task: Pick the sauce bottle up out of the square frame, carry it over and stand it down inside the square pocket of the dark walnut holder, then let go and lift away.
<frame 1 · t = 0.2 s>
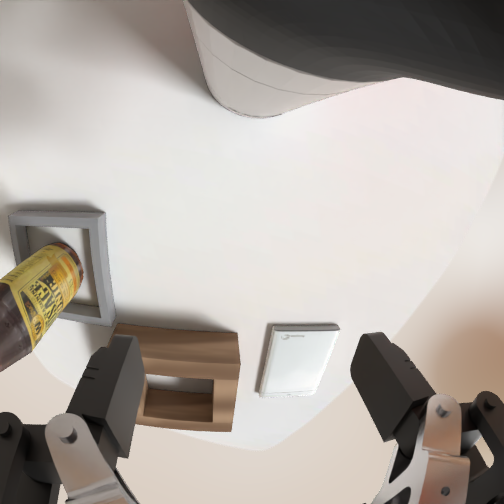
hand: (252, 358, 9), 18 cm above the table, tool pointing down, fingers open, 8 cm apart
hard drive: (294, 358, 34), on the table
square frame: (63, 264, 25), on the table
holder: (178, 370, 32), on the table
sauce bottle: (64, 263, 26), resting in square frame
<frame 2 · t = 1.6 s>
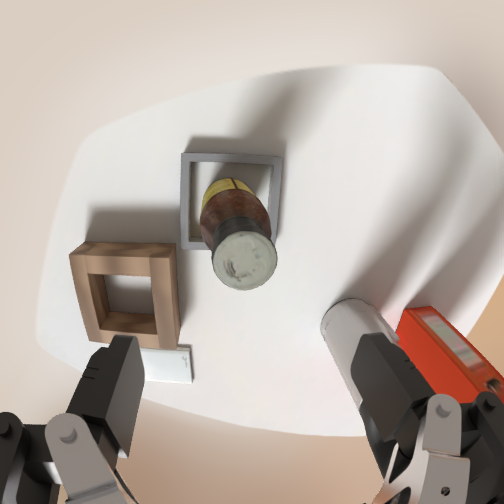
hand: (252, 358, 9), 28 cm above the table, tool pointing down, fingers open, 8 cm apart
hard drive: (157, 360, 45), on the table
square frame: (229, 200, 35), on the table
holder: (131, 287, 38), on the table
sauce bottle: (229, 200, 35), resting in square frame
file binder: (404, 342, 49), on the table
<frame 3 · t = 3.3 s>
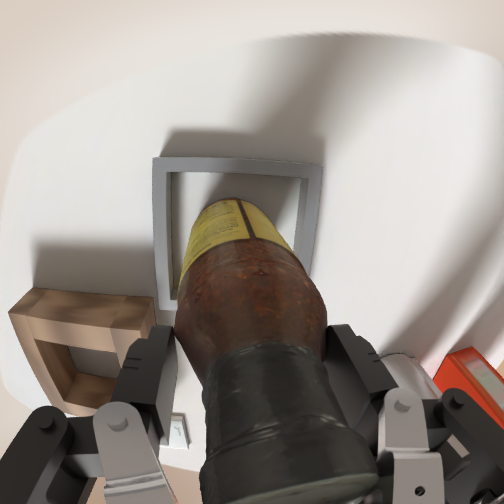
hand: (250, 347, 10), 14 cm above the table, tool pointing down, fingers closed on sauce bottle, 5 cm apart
hard drive: (143, 423, 31), on the table
square frame: (233, 234, 22), on the table
holder: (99, 349, 25), on the table
sauce bottle: (233, 233, 22), resting in square frame, touching gripper
file binder: (438, 387, 36), on the table
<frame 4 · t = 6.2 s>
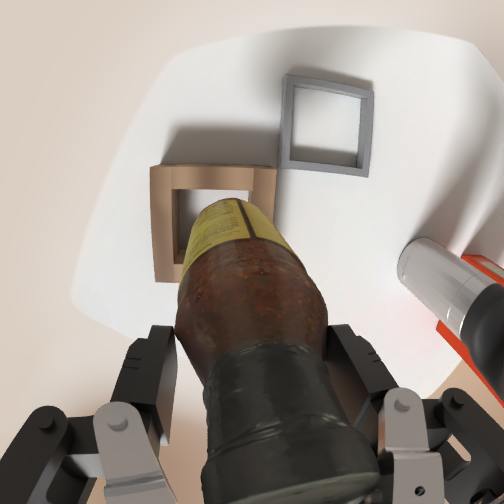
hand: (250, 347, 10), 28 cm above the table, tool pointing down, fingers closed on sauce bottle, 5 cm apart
square frame: (325, 126, 33), on the table
holder: (212, 217, 36), on the table
sauce bottle: (233, 233, 22), point 14 cm above the table, touching gripper
file binder: (459, 292, 46), on the table
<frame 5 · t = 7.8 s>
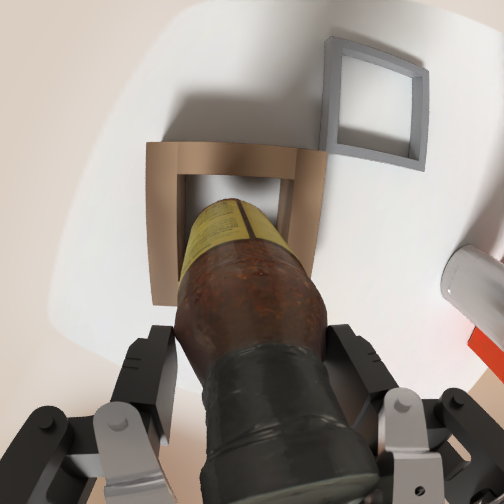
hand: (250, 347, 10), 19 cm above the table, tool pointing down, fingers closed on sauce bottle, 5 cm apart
square frame: (375, 106, 24), on the table
holder: (231, 217, 27), on the table
sauce bottle: (233, 233, 22), point 5 cm above the table, touching gripper
file binder: (492, 303, 38), on the table
when the fingers open (15 cm above the table, at t = 9.0 s): sauce bottle drops 1 cm, resting in holder.
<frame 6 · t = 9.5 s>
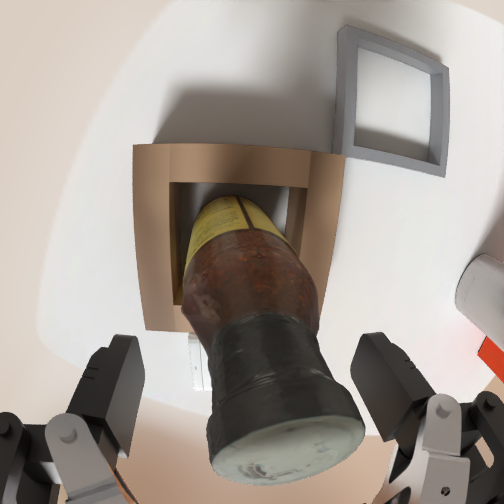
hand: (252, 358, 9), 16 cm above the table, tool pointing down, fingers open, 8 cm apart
hard drive: (247, 357, 30), on the table
square frame: (393, 104, 21), on the table
holder: (233, 229, 24), on the table
sauce bottle: (232, 228, 24), resting in holder
file binder: (503, 312, 34), on the table
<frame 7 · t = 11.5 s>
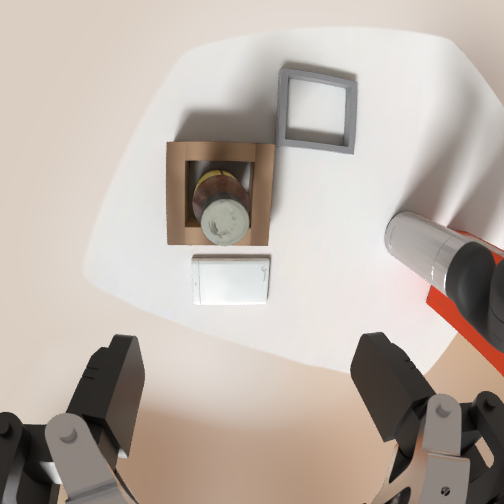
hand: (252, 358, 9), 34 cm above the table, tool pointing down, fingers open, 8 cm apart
hard drive: (230, 279, 47), on the table
square frame: (315, 112, 38), on the table
holder: (218, 189, 41), on the table
sauce bottle: (218, 189, 41), resting in holder
file binder: (446, 266, 52), on the table
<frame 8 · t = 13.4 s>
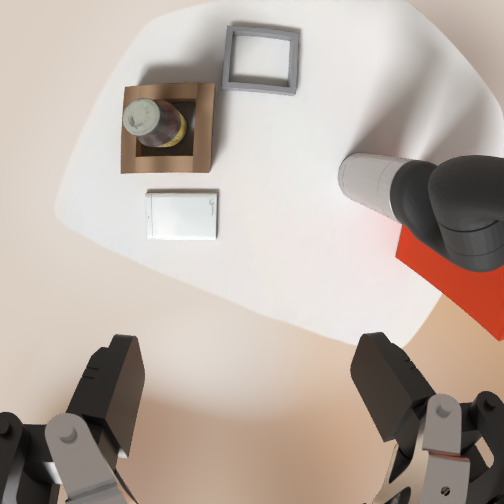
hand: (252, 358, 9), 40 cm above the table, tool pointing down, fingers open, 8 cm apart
hard drive: (181, 215, 48), on the table
square frame: (259, 60, 39), on the table
holder: (170, 129, 42), on the table
sauce bottle: (170, 129, 42), resting in holder
file binder: (416, 219, 52), on the table
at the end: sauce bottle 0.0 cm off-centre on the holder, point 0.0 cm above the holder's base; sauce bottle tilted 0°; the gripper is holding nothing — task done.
